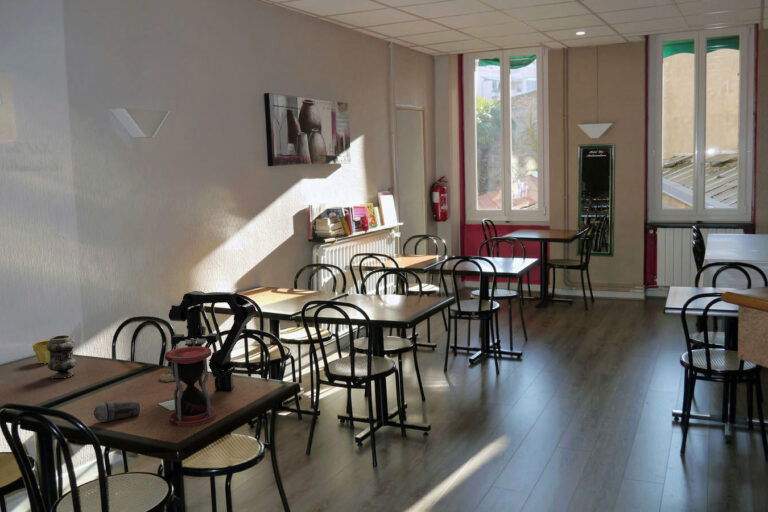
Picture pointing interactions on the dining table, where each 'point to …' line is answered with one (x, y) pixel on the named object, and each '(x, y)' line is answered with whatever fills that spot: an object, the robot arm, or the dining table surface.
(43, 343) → the plant pot
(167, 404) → the mat
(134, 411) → the beverage cup
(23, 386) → the dining table surface
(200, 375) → the hourglass
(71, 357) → the apothecary jar
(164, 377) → the bread roll
